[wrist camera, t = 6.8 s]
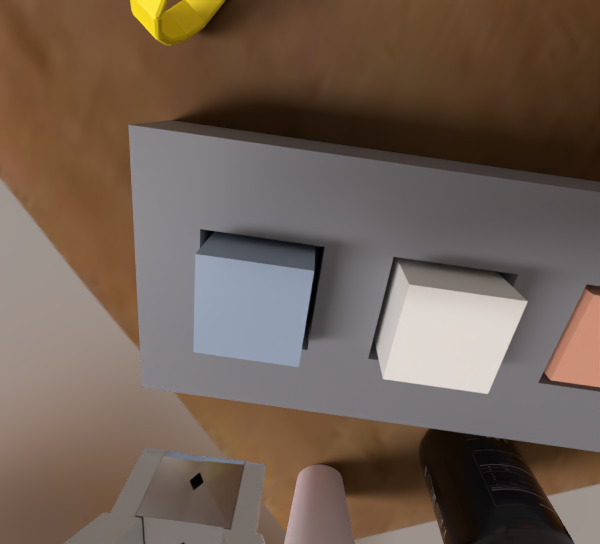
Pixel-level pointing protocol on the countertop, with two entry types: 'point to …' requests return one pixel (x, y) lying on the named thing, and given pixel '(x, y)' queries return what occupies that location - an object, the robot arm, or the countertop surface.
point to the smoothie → (319, 509)
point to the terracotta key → (579, 344)
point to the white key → (445, 325)
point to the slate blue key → (252, 298)
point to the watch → (174, 18)
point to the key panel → (363, 271)
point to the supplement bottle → (486, 492)
